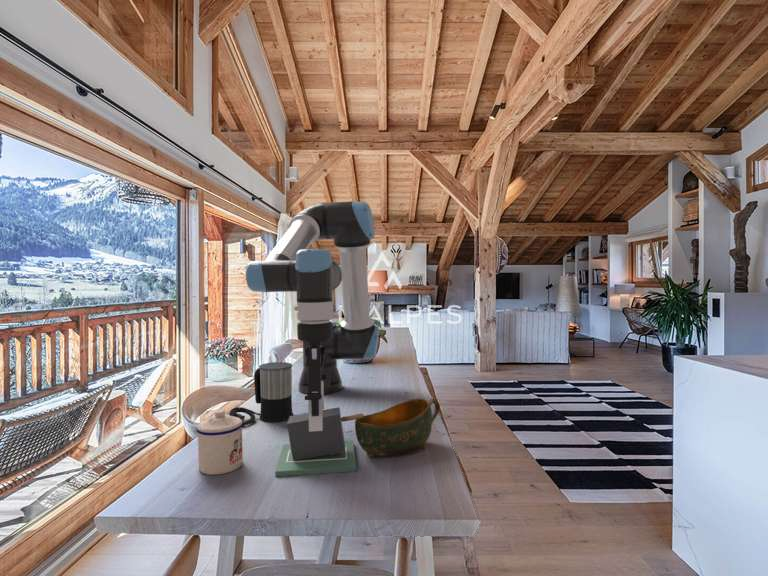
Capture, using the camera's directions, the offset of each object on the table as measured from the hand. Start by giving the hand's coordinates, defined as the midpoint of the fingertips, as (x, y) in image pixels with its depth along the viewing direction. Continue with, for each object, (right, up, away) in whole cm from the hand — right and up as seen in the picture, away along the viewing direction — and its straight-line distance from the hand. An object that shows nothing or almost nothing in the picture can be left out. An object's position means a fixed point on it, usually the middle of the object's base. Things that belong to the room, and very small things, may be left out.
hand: (317, 419), depth 94 cm
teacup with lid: (-20, -9, -1) cm, 22 cm away
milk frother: (-19, -8, +26) cm, 34 cm away
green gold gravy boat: (+18, -9, +5) cm, 21 cm away
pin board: (0, -9, 0) cm, 9 cm away
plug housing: (+3, -7, 0) cm, 7 cm away
